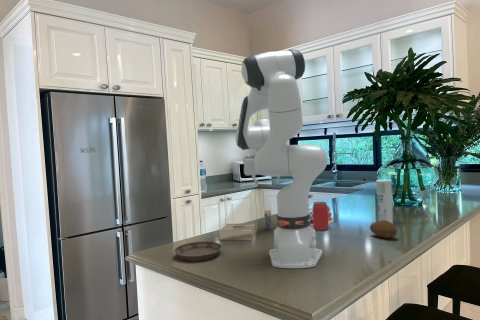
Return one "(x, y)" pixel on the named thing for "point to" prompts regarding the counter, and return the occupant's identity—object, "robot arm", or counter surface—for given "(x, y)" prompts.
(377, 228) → the potato
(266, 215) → the grey and gold cylinder
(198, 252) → the plant saucer
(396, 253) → the counter surface
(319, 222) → the beer can
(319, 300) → the counter surface
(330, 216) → the candy landscape model
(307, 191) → the robot arm
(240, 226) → the block
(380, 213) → the spray can
